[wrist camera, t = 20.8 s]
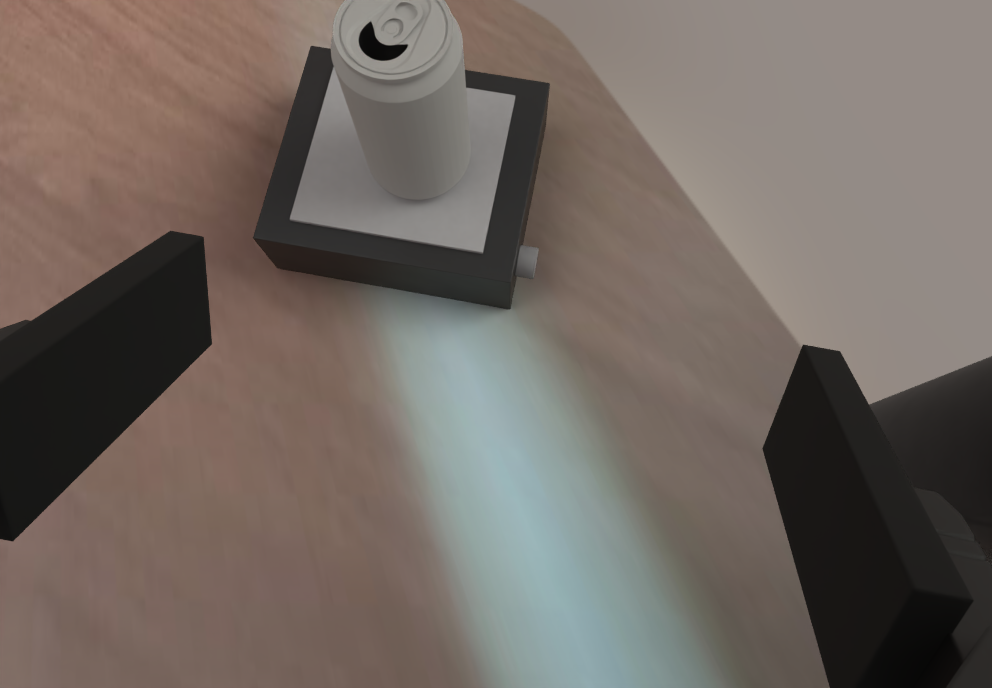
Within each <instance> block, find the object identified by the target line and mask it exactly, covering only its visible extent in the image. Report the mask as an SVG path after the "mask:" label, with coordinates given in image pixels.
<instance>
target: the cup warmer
mask: <svg viewBox="0 0 992 688" xmlns="http://www.w3.org/2000/svg"><path fill="white" fill-rule="evenodd" d="M465 81H466V94H467V108H468V121H469V134H470V148H471V154H470V161H469V165H468V167H467V170H466V172H465V173H464V175H463V177H462V178H461V180H460V181H459V182H458V183H457V184H456V185H455V186H454V187H453V188H451V189H450V190H448V191H447V192H445V193H443V194H441V195H439V196H436V197H433V198H429V199H422V200H412V199H405V198H401V197H398V196H396V195H394V194H392V193H390V192H388V191H387V190H385V189H384V188H383V187H381V186H380V185H379V184H378V183H377V181H376V180H375V179H374V177H373V176H372V174H371V171H370V169H369V167H368V164H367V161H366V158H365V155H364V152H363V149H362V147H361V144H360V141H359V138H358V135H357V132H356V129H355V126H354V123H353V120H352V117H351V115H350V112H349V109H348V106H347V103H346V100H345V97H344V94H343V91H342V88H341V85H340V82H339V80H338V77H337V74H336V71H335V68H334V65H333V62H332V58H331V49H328V48H322V47H315V46H311V47H310V51H309V54H308V57H307V61H306V64H305V67H304V71H303V74H302V77H301V80H300V84H299V87H298V90H297V94H296V97H295V100H294V104H293V107H292V110H291V114H290V117H289V120H288V124H287V127H286V130H285V134H284V137H283V140H282V144H281V147H280V150H279V154H278V157H277V160H276V163H275V167H274V170H273V173H272V177H271V180H270V183H269V187H268V190H267V193H266V197H265V200H264V203H263V207H262V210H261V213H260V217H259V220H258V223H257V227H256V230H255V233H254V237H253V238H254V240H255V241H256V242H257V243H258V245H259V246H260V247H261V248H262V250H263V251H264V252H265V253H266V255H267V256H268V257H269V258H270V260H271V261H272V262H273V263H274V265H275V266H276V267H277V268H280V269H285V270H291V271H297V272H302V273H308V274H314V275H319V276H325V277H331V278H336V279H342V280H348V281H353V282H359V283H365V284H370V285H376V286H382V287H387V288H393V289H399V290H404V291H410V292H416V293H421V294H427V295H433V296H438V297H444V298H450V299H455V300H461V301H467V302H472V303H478V304H484V305H489V306H495V307H501V308H506V309H510V308H511V302H512V297H513V292H514V287H515V282H516V277H517V276H518V277H523V278H529V279H533V278H534V274H535V269H536V264H537V258H538V252H539V248H535V247H529V246H523V240H524V235H525V230H526V225H527V220H528V215H529V209H530V204H531V199H532V194H533V189H534V184H535V178H536V173H537V168H538V163H539V158H540V153H541V147H542V142H543V137H544V132H545V127H546V117H547V107H548V97H549V87H550V84H549V83H545V82H538V81H532V80H526V79H519V78H513V77H506V76H500V75H494V74H487V73H481V72H475V71H468V70H465Z"/></svg>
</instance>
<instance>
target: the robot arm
mask: <svg viewBox="0 0 992 688" xmlns="http://www.w3.org/2000/svg"><path fill="white" fill-rule="evenodd" d="M211 344H212V339H211V326H210V313H209V300H208V288H207V275H206V262H205V249H204V237H202V236H196V235H191V234H185V233H180V232H174V231H170V232H168V233H166V234H165V235H163V236H162V237H160V238H159V239H157V240H156V241H154V242H153V243H151V244H149V245H148V246H146V247H145V248H143V249H142V250H140V251H139V252H137V253H136V254H134V255H132V256H131V257H129V258H128V259H126V260H125V261H123V262H122V263H120V264H119V265H117V266H115V267H114V268H112V269H111V270H109V271H108V272H106V273H105V274H103V275H102V276H100V277H98V278H97V279H95V280H94V281H92V282H91V283H89V284H88V285H86V286H85V287H83V288H81V289H80V290H78V291H77V292H75V293H74V294H72V295H71V296H69V297H68V298H66V299H64V300H63V301H61V302H60V303H58V304H57V305H55V306H54V307H52V308H51V309H49V310H47V311H46V312H44V313H43V314H41V315H40V316H38V317H37V318H35V319H34V320H32V321H29V320H24V321H21V322H18V323H16V324H13V325H10V326H7V327H4V328H1V329H0V539H4V540H8V541H14V540H15V539H16V538H17V537H18V536H19V535H20V534H21V533H22V532H23V531H24V530H25V529H26V528H27V527H28V526H29V525H30V524H31V523H32V522H33V521H34V520H35V519H36V518H37V517H38V516H39V515H40V514H41V513H42V512H43V511H44V510H45V509H46V508H47V507H48V506H49V505H50V504H51V503H52V502H53V501H54V500H55V499H56V498H57V497H58V496H59V495H60V494H61V493H62V492H63V491H64V490H65V489H66V488H67V487H68V486H69V485H70V484H71V483H72V482H73V481H74V480H75V479H76V478H77V477H78V476H79V475H80V474H81V473H82V472H83V471H84V470H85V469H86V468H87V467H88V466H89V465H90V464H91V463H92V462H93V461H94V460H95V459H96V458H97V457H98V456H99V455H100V454H101V453H102V452H103V451H104V450H106V449H107V448H108V447H109V446H110V445H111V444H112V443H113V442H114V441H115V440H116V439H117V438H118V437H119V436H120V435H121V434H122V433H123V432H124V431H125V430H126V429H127V428H128V427H129V426H130V425H131V424H132V423H133V422H134V421H135V420H136V419H137V418H138V417H139V416H140V415H141V414H142V413H143V412H144V411H145V410H146V409H147V408H148V407H149V406H150V405H151V404H152V403H153V402H154V401H155V400H156V399H157V398H158V397H159V396H160V395H161V394H162V393H163V392H164V391H165V390H166V389H167V388H168V387H169V386H170V385H171V384H172V383H173V382H174V381H175V380H176V379H177V378H178V377H179V376H180V375H181V374H182V373H183V372H184V371H185V370H186V369H187V368H188V367H189V366H190V365H191V364H192V363H193V362H194V361H195V360H196V359H197V358H198V357H199V356H200V355H201V354H202V353H203V352H204V351H205V350H206V349H207V348H208V347H209V346H210V345H211ZM763 452H764V456H765V459H766V463H767V466H768V470H769V473H770V477H771V480H772V484H773V487H774V491H775V495H776V498H777V502H778V505H779V509H780V512H781V516H782V519H783V523H784V526H785V530H786V534H787V537H788V541H789V544H790V548H791V551H792V555H793V558H794V562H795V565H796V569H797V573H798V576H799V580H800V583H801V587H802V590H803V594H804V597H805V601H806V604H807V608H808V612H809V615H810V619H811V622H812V626H813V629H814V633H815V636H816V640H817V643H818V647H819V651H820V654H821V658H822V661H823V665H824V668H825V672H826V675H827V679H828V682H829V686H830V688H992V565H991V564H990V562H987V561H986V558H987V557H986V555H985V553H984V552H983V550H982V548H981V547H980V545H979V543H978V542H975V537H974V535H973V533H972V532H971V530H970V528H969V527H968V525H967V523H966V522H965V520H964V518H963V517H962V515H961V514H960V513H959V512H958V511H957V510H956V509H955V508H954V507H953V506H952V505H951V504H949V503H948V502H947V501H946V500H945V499H944V498H943V497H942V496H941V495H940V494H939V493H938V492H935V491H929V490H924V489H919V488H914V487H913V486H912V484H911V482H910V481H909V479H908V477H907V475H906V473H905V471H904V469H903V468H902V466H901V464H900V462H899V460H898V458H897V456H896V455H895V453H894V451H893V449H892V447H891V445H890V443H889V441H888V440H887V438H886V436H885V434H884V432H883V430H882V428H881V427H880V425H879V423H878V421H877V419H876V417H875V415H874V414H873V412H872V410H871V408H870V406H869V404H868V402H867V401H866V399H865V397H864V395H863V394H862V391H861V389H860V388H859V386H858V384H857V382H856V380H855V378H854V377H853V374H852V373H851V371H850V369H849V367H848V365H847V363H846V361H845V360H844V358H843V356H842V354H841V352H840V351H835V350H830V349H824V348H818V347H813V346H808V345H803V346H802V349H801V351H800V354H799V356H798V359H797V361H796V364H795V366H794V369H793V372H792V374H791V377H790V379H789V382H788V384H787V387H786V390H785V392H784V395H783V397H782V400H781V402H780V405H779V408H778V410H777V413H776V415H775V418H774V420H773V423H772V426H771V428H770V431H769V433H768V436H767V438H766V441H765V444H764V446H763Z"/></svg>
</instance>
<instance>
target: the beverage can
mask: <svg viewBox="0 0 992 688" xmlns="http://www.w3.org/2000/svg"><path fill="white" fill-rule="evenodd" d="M331 58H332V62H333V65H334V68H335V71H336V74H337V77H338V80H339V82H340V85H341V88H342V91H343V94H344V97H345V100H346V103H347V106H348V109H349V112H350V115H351V117H352V120H353V123H354V126H355V129H356V132H357V135H358V138H359V141H360V144H361V147H362V149H363V152H364V155H365V158H366V161H367V164H368V167H369V169H370V171H371V174H372V176H373V177H374V179H375V180H376V181H377V183H378V184H379V185H380V186H381V187H383V188H384V189H385V190H387V191H388V192H390V193H392V194H394V195H396V196H398V197H401V198H405V199H412V200H422V199H429V198H433V197H436V196H439V195H441V194H443V193H445V192H447V191H448V190H450V189H451V188H453V187H454V186H455V185H456V184H457V183H458V182H459V181H460V180H461V178H462V177H463V175H464V173H465V172H466V170H467V167H468V165H469V161H470V154H471V148H470V134H469V121H468V108H467V94H466V81H465V67H464V54H463V41H462V35H461V31H460V28H459V25H458V23H457V21H456V20H455V18H454V16H453V15H452V14H451V12H450V9H449V7H448V5H447V4H446V2H445V1H444V0H345V1H344V2H343V3H342V4H341V6H340V8H339V9H338V11H337V13H336V16H335V19H334V23H333V37H332V41H331Z"/></svg>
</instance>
